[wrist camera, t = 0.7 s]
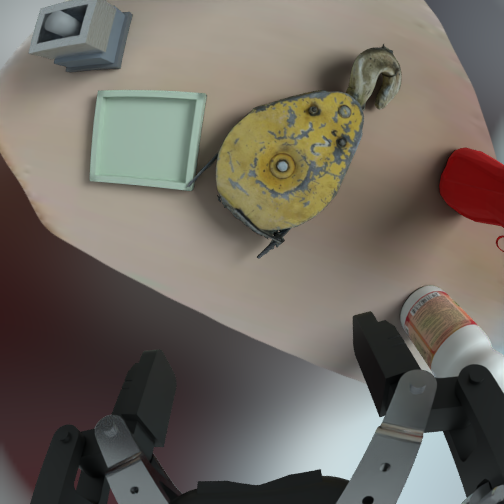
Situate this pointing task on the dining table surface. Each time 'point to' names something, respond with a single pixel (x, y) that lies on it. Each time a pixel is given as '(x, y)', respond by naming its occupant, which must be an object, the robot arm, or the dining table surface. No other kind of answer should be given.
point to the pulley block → (298, 150)
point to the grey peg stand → (109, 60)
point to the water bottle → (474, 186)
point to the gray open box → (91, 35)
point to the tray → (147, 137)
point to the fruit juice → (448, 335)
